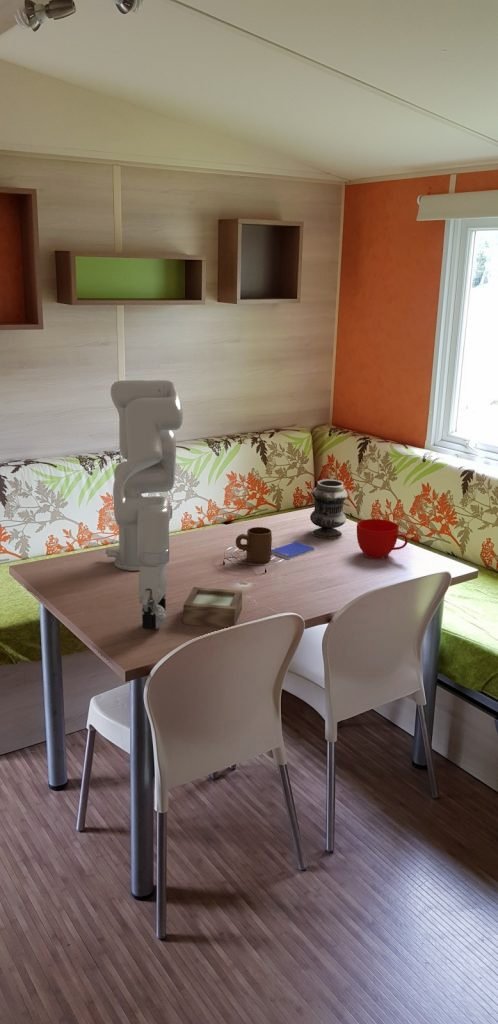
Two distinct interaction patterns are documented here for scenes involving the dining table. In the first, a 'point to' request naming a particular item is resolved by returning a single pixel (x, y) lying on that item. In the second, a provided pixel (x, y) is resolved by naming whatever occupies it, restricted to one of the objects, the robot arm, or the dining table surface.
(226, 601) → the pedestal
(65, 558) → the dining table surface
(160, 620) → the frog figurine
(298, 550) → the hard drive
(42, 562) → the dining table surface
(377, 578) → the dining table surface
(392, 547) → the ceramic cup
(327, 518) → the apothecary jar
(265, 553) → the mug
